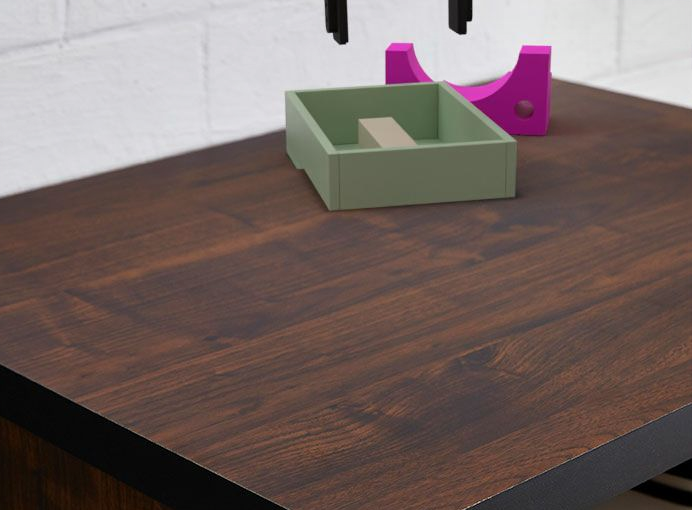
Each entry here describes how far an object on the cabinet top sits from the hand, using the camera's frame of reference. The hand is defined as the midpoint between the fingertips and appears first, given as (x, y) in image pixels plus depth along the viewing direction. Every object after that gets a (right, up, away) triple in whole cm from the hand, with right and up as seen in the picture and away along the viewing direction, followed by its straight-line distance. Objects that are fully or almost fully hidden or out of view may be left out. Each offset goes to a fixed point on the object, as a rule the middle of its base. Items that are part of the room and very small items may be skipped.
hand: (399, 36), depth 111 cm
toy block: (+8, -3, +21) cm, 23 cm away
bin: (0, -11, +5) cm, 12 cm away
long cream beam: (0, -10, +5) cm, 11 cm away
